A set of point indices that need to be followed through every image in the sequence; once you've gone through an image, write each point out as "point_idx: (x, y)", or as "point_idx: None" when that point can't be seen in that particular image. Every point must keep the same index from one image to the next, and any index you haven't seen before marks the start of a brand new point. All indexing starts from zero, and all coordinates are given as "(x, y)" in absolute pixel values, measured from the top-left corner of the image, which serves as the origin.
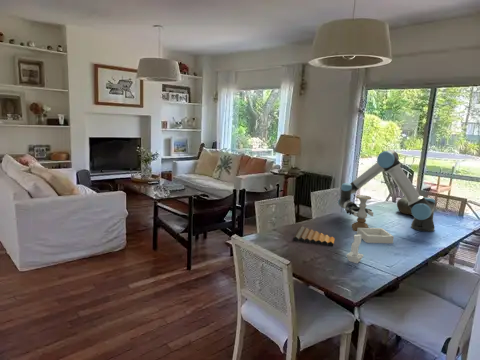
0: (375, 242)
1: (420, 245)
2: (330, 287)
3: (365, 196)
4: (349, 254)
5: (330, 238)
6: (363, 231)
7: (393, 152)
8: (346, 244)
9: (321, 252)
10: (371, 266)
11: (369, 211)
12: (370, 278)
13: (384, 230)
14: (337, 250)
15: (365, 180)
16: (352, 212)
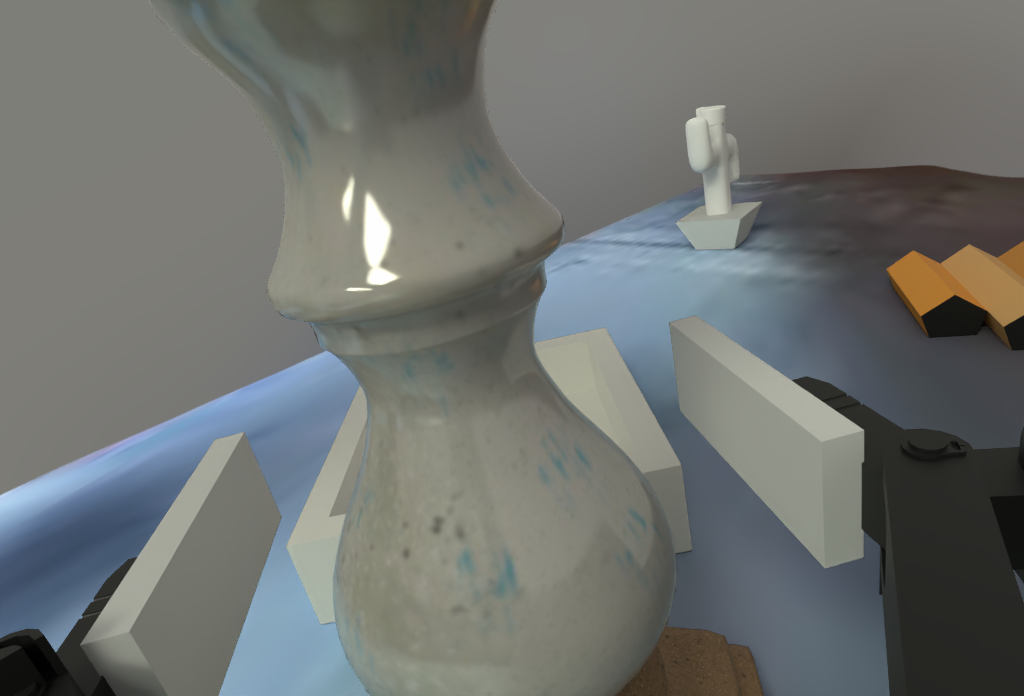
0: None
1: (183, 460)
2: (790, 174)
3: None
4: (747, 206)
5: (953, 286)
6: (617, 387)
7: None
8: (791, 327)
9: (925, 235)
10: (649, 244)
11: (191, 545)
12: (668, 215)
13: (326, 477)
14: (835, 268)
15: None
16: (807, 381)
